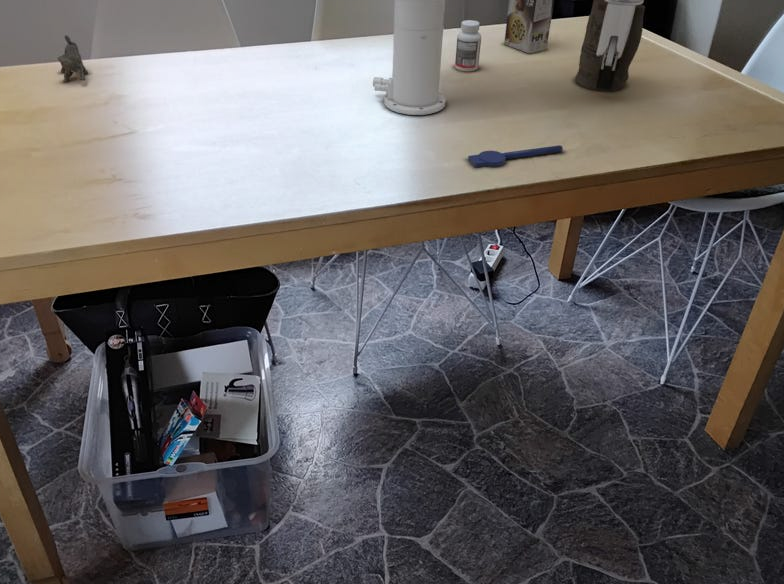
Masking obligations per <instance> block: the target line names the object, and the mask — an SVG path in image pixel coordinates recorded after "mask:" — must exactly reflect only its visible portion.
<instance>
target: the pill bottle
mask: <svg viewBox="0 0 784 584" xmlns="http://www.w3.org/2000/svg"><path fill="white" fill-rule="evenodd" d="M480 26H481V25H480V22H479V21H478V20H472V19H467V20H462V21H461V24H460V30H461V31H459V32H458V34H457V37H456V50H455V59H454V67H455V68H456V70H458V71H462V72H474V71H476V70H477V69H479V63H480V55H481V53H480V52H481V44H482V34H481V33H480V32H479V31H480Z"/></svg>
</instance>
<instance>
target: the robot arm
mask: <svg viewBox="0 0 784 584" xmlns="http://www.w3.org/2000/svg"><path fill="white" fill-rule="evenodd" d="M605 1H606V2H608V5H607V9H606V12H605V16H604V21H603V25H602V30H601V35H600V40H599V44H598V49H597V53H596V55H597V56H599V55H603V53H604V56H603V61H602V66H601V67H600V70H599V75H598V79H597V84H596V88H598V89H606V90H611V89H612V86H613V81H614V77H615V72H616V68H615V67H616V63H617V59H618V58H620V57H621V55H622V52H623V50H624V47H625V44H626V41H627V38H628V35H629V31H630V28H631V24H632V20H633V16H634V12H635V7H636V5H640V4H642V5H643V4H644V2H645V0H605ZM445 9H446V0H394V9H393V10H394V11H393V44H392V47H393V48H392V50H393V51H392V75H391V77H388V78H384V77H378V76H374V77H373V80H372V87H373V88H374V91H375V92H377V91H378V92H385V93H386V94H385V95H384V96H383V104H384V106H385V107H386V108H387V109H388V110H390V111H393V112H395V113H398V114H402V115H411V116H424V115H430V114H434V113H438V112H440V111H441V110H443V109H444V108H445V107H446V101H447V100H446V97H445V95H443V94H442V93H440V80H441V79H440V78H441V65H442V53H443V52H442V51H443V37H444V25H445V24H444V23H445V22H444V21H445ZM611 91H612V90H611Z"/></svg>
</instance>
